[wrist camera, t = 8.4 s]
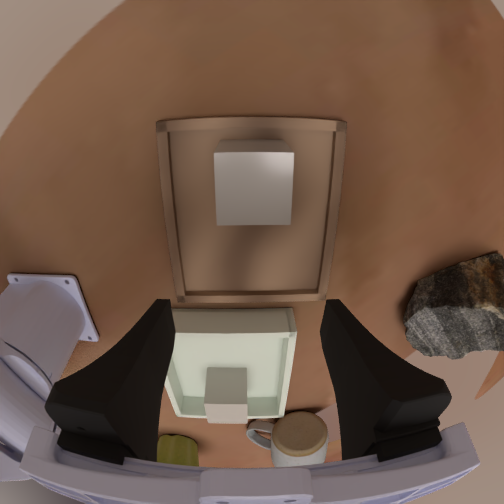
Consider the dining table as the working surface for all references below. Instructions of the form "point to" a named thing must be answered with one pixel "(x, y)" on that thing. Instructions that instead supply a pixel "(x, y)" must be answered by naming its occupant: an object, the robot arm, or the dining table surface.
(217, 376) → the stone
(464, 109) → the dining table surface
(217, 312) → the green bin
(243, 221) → the stone
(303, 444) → the ceramic mug
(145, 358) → the robot arm
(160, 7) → the dining table surface
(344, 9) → the dining table surface
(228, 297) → the wooden tray
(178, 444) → the plant pot
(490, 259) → the rock
